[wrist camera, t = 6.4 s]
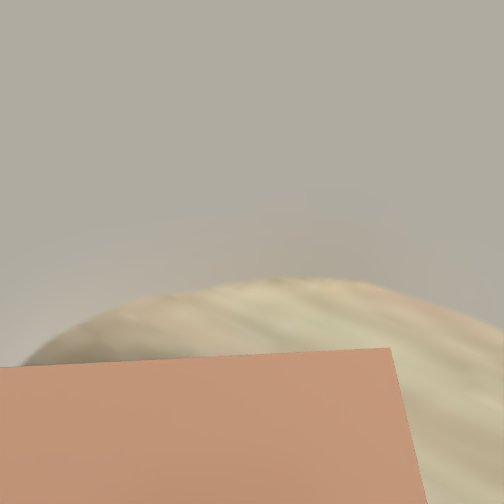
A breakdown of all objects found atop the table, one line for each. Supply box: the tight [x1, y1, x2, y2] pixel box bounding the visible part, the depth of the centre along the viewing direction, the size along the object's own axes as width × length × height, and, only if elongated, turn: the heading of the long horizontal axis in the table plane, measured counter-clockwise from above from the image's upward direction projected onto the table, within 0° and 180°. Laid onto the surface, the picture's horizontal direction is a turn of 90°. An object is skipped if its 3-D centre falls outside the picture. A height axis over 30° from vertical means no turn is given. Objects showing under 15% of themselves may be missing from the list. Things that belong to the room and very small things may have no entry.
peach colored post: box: [0, 348, 427, 504], centre depth 8 cm, size 6×6×12 cm
